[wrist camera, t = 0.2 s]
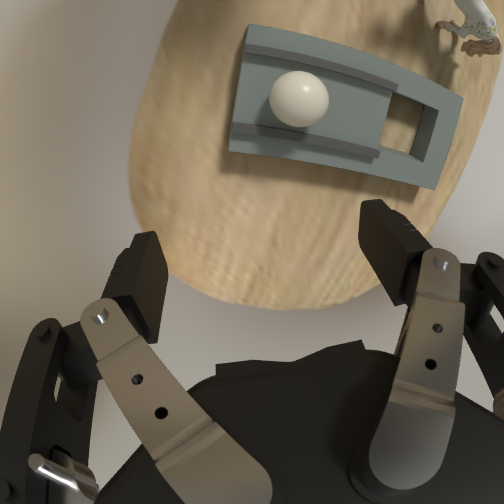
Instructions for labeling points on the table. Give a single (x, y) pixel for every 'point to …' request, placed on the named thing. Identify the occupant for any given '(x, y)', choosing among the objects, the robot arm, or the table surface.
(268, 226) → the table surface
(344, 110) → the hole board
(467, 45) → the unicorn figurine
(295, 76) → the plastic ball
